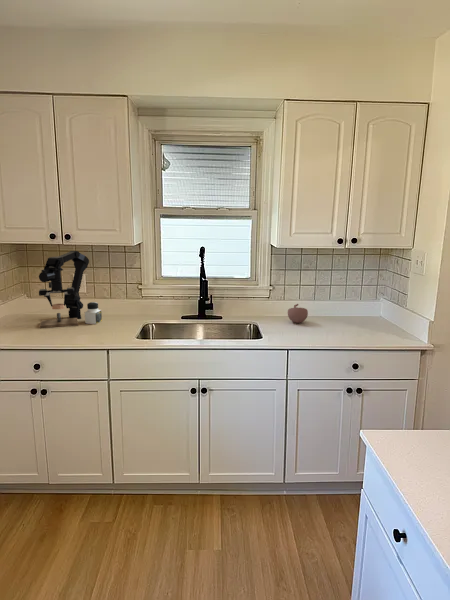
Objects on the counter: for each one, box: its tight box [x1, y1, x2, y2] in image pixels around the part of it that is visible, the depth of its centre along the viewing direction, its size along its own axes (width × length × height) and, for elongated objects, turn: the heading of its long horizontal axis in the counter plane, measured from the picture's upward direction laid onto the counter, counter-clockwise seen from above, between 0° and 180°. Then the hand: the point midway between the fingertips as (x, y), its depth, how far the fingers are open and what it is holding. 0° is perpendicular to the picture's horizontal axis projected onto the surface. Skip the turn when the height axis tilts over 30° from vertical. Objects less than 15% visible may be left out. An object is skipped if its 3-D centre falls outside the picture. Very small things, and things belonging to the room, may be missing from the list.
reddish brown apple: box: [287, 303, 309, 324], centre depth 247 cm, size 12×12×11 cm
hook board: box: [39, 312, 79, 329], centre depth 238 cm, size 20×12×6 cm, turn 110°
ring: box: [51, 303, 65, 310], centre depth 236 cm, size 6×6×2 cm
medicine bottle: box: [84, 301, 103, 325], centre depth 242 cm, size 7×7×12 cm
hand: (58, 306), depth 236 cm, fingers closed on ring, 6 cm apart
